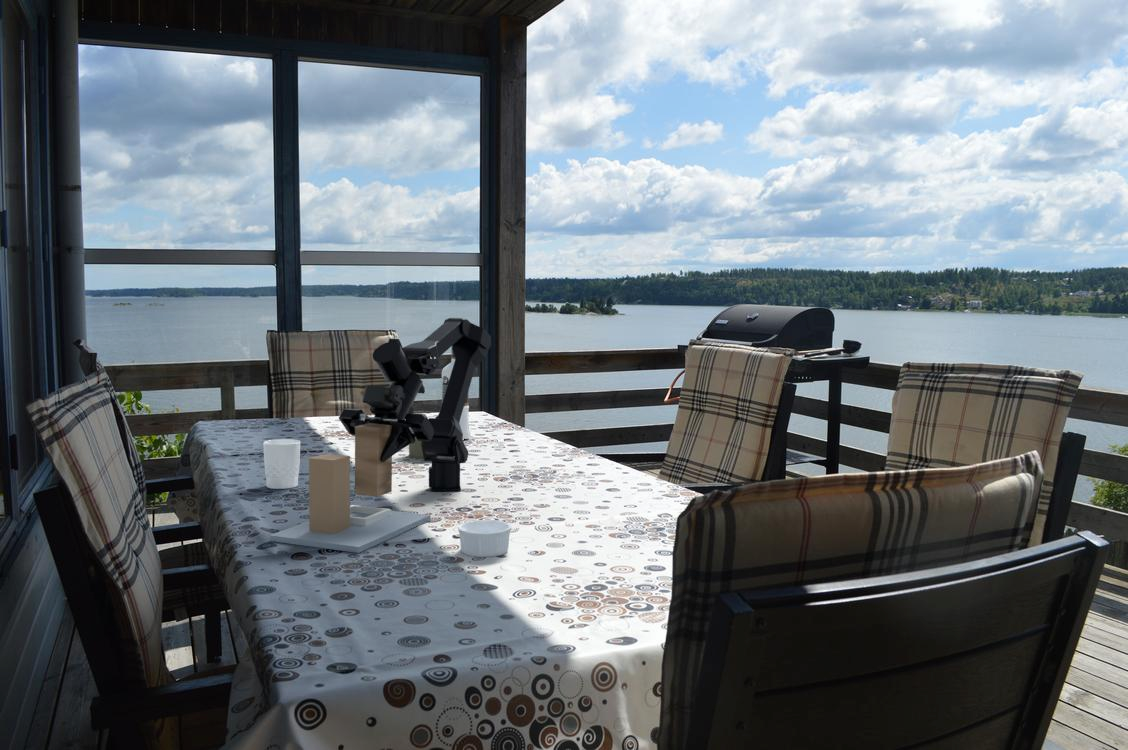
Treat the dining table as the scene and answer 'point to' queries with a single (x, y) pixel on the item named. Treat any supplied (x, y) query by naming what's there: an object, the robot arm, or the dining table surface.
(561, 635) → the dining table surface
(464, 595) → the dining table surface
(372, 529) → the baseplate
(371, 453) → the walnut pillar
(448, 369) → the vodka
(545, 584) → the dining table surface
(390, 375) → the robot arm
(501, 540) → the ramekin
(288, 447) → the white cup
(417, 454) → the can
